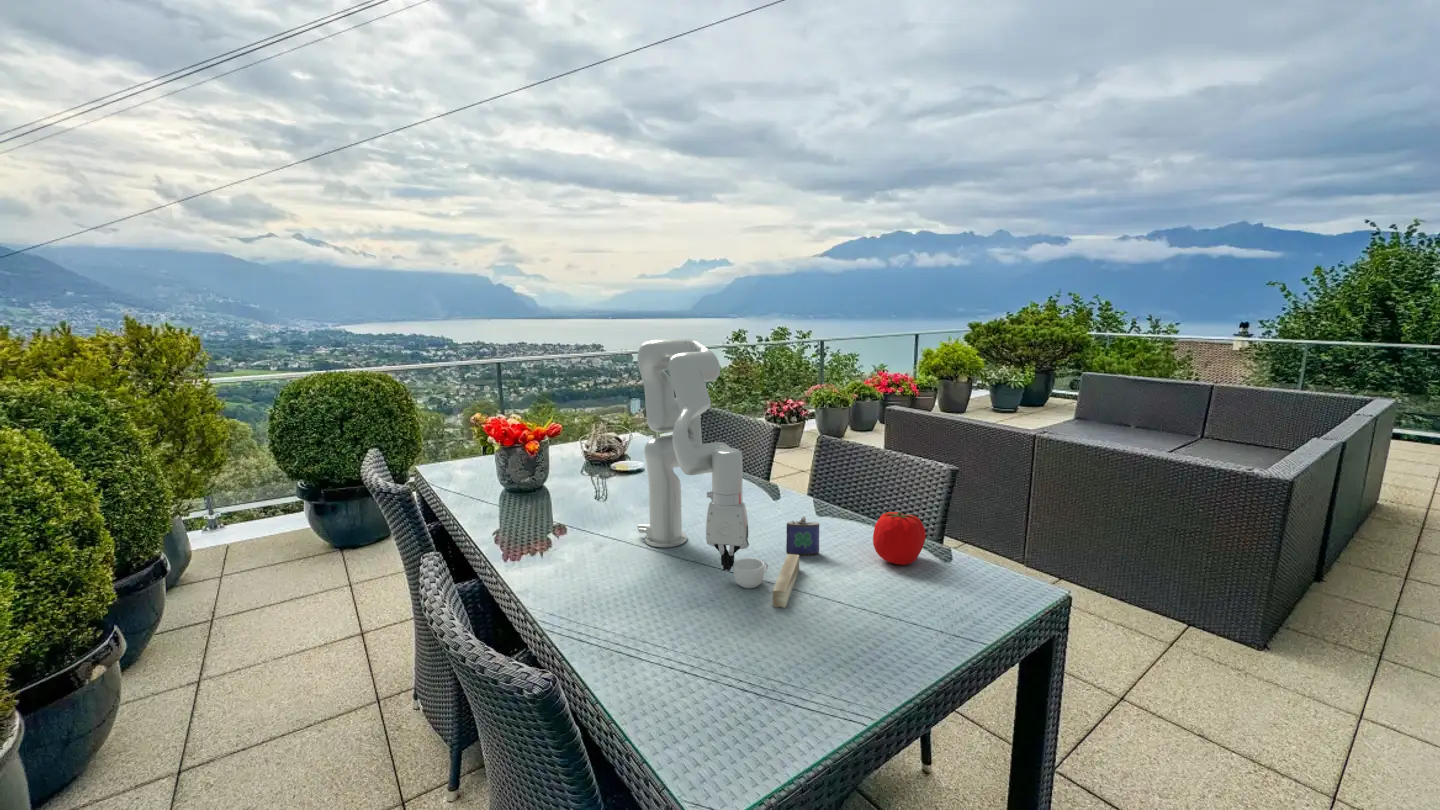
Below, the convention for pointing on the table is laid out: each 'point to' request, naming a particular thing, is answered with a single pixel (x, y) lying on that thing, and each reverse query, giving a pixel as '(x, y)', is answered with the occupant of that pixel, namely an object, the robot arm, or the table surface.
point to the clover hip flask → (802, 537)
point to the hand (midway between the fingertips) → (727, 568)
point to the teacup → (749, 572)
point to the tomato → (898, 537)
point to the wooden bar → (785, 581)
